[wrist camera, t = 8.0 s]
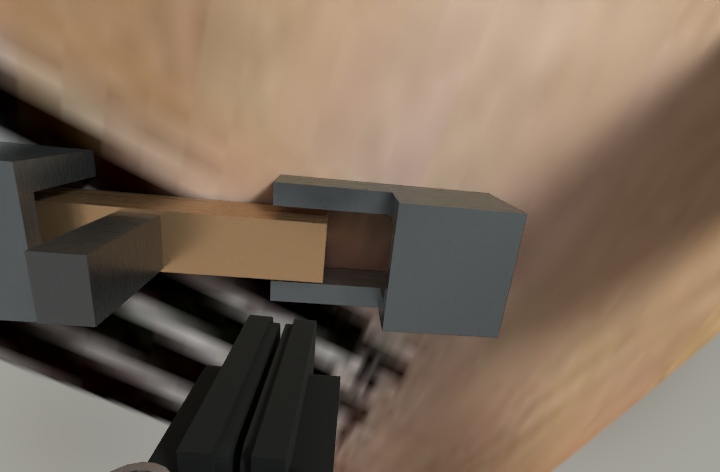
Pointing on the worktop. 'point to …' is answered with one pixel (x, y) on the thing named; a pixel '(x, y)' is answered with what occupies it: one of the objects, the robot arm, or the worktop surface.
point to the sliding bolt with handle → (159, 247)
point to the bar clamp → (340, 286)
